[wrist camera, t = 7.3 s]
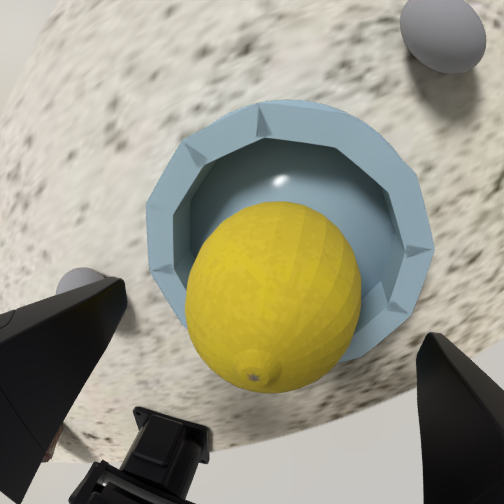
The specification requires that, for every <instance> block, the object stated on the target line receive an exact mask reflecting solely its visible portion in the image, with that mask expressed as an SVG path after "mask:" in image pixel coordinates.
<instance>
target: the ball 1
mask: <svg viewBox="0 0 504 504" xmlns="http://www.w3.org/2000/svg"><path fill="white" fill-rule="evenodd" d="M102 279H105V278H104V277H103V276H102V275H101V274H100V273H99V272H97V271H95V270H93V269H90V268H76V269H73V270H71V271H69V272H68V273H66V274H65V275H64V276H63V277H62V279H61V280H60V282H59V284H58V286H57V290H56V295H58V294H61V293H64V292H66V291H69V290H72V289H75V288H78V287H81V286H84V285H87V284H90V283H93V282H96V281H99V280H102Z"/></svg>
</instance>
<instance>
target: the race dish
mask: <svg viewBox="0 0 504 504" xmlns="http://www.w3.org/2000/svg"><path fill="white" fill-rule="evenodd" d="M275 201H287V202H292V203H297V204H301V205H305V206H307V207H309V208H311V209H313V210H315V211H317V212H319V213H321V214H323V215H324V216H325V217H326V218H328V219H329V220H330V221H331V222H332V223H333V224H334V225H336V226H337V227H338V228H339V230H340V231H341V232H342V234H343V235H344V237H345V238H346V240H347V241H348V243H349V244H350V246H351V247H352V249H353V252H354V255H355V258H356V261H357V265H358V268H359V271H360V275H361V309H360V315H359V319H358V322H357V325H356V328H355V331H354V334H353V337H352V340H351V343H350V345H349V347H348V348H347V350H346V352H345V353H344V354H343V356H342V357H341V359H340V360H339V361H338V363H341V362H345V361H348V360H352V359H356V358H360V357H362V356H363V355H365V354H366V353H367V352H368V351H370V350H371V349H372V348H373V347H374V346H376V345H377V344H378V343H379V342H381V341H382V340H383V339H384V338H385V337H387V336H388V335H389V334H390V333H391V332H393V331H394V330H395V329H396V328H397V327H398V326H399V325H401V324H402V323H403V322H404V321H405V320H406V319H407V318H409V317H410V316H411V314H412V312H413V310H414V307H415V305H416V302H417V299H418V297H419V294H420V291H421V289H422V286H423V283H424V280H425V277H426V275H427V272H428V269H429V266H430V263H431V260H432V257H433V253H434V249H435V248H434V243H433V238H432V233H431V229H430V225H429V220H428V216H427V212H426V208H425V204H424V200H423V197H422V193H421V189H420V186H419V182H418V179H417V175H416V174H415V172H414V171H413V170H412V169H411V168H410V167H409V166H408V165H407V164H406V163H405V162H404V161H403V160H402V159H401V158H400V156H399V155H398V154H397V152H396V151H395V150H394V148H393V147H392V146H391V145H390V144H389V143H388V142H387V141H386V140H385V139H384V138H383V137H382V136H381V135H380V134H379V133H378V132H376V131H375V130H374V129H372V128H371V127H370V126H368V125H367V124H366V123H364V122H363V121H361V120H359V119H358V118H356V117H354V116H352V115H350V114H348V113H346V112H344V111H342V110H339V109H336V108H333V107H331V106H328V105H324V104H320V103H315V102H310V101H302V100H275V101H266V102H261V103H256V104H253V105H249V106H246V107H243V108H240V109H238V110H235V111H233V112H230V113H228V114H227V115H225V116H223V117H221V118H220V119H218V120H216V121H215V122H213V123H212V124H210V125H209V126H208V127H206V128H204V129H202V130H200V131H198V132H196V133H194V134H192V135H191V136H189V137H187V138H185V139H183V140H182V141H181V143H180V145H179V146H178V148H177V150H176V151H175V153H174V155H173V156H172V158H171V160H170V161H169V163H168V165H167V167H166V168H165V170H164V172H163V174H162V175H161V177H160V179H159V181H158V183H157V184H156V186H155V188H154V190H153V192H152V194H151V195H150V197H149V199H148V201H147V203H146V222H147V243H148V260H149V270H150V273H151V275H152V276H153V278H154V280H155V281H156V283H157V285H158V286H159V288H160V290H161V291H162V293H163V295H164V296H165V298H166V300H167V301H168V303H169V304H170V306H171V308H172V309H173V311H174V312H175V314H176V316H177V317H178V319H179V320H180V322H181V323H182V325H184V327H186V328H187V322H186V317H185V300H186V291H187V283H188V278H189V274H190V271H191V269H192V266H193V264H194V262H195V260H196V258H197V256H198V253H199V251H200V249H201V247H202V245H203V244H204V242H205V241H206V240H207V238H208V237H209V236H210V235H211V234H212V233H213V232H214V231H215V230H216V228H217V227H218V226H219V225H220V224H221V223H222V222H223V221H224V220H226V219H227V218H229V217H231V216H232V215H234V214H235V213H237V212H238V211H240V210H242V209H244V208H246V207H249V206H252V205H256V204H259V203H263V202H275ZM187 329H188V328H187Z"/></svg>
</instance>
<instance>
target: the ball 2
mask: <svg viewBox="0 0 504 504" xmlns="http://www.w3.org/2000/svg"><path fill="white" fill-rule="evenodd" d="M400 28H401V33H402V37H403V39H404V42H405V44H406V46H407V47H408V49H409V50H410V52H411V53H412V54H413V55H414V56H415V57H416V58H417V59H418V60H419V61H420V62H421V63H423V64H424V65H426V66H427V67H429V68H431V69H433V70H435V71H438V72H442V73H447V74H458V73H463V72H466V71H468V70H470V69H472V68H473V67H475V66H476V65H477V64H478V63H479V62H480V60H481V59H482V57H483V55H484V52H485V48H486V33H485V29H484V26H483V24H482V21H481V20H480V18H479V16H478V15H477V13H476V12H475V11H474V9H473V8H472V7H471V6H470V5H469V4H467V3H466V2H465V1H464V0H409V1H408V2H407V3H406V4H405V6H404V8H403V10H402V13H401V18H400Z"/></svg>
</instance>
